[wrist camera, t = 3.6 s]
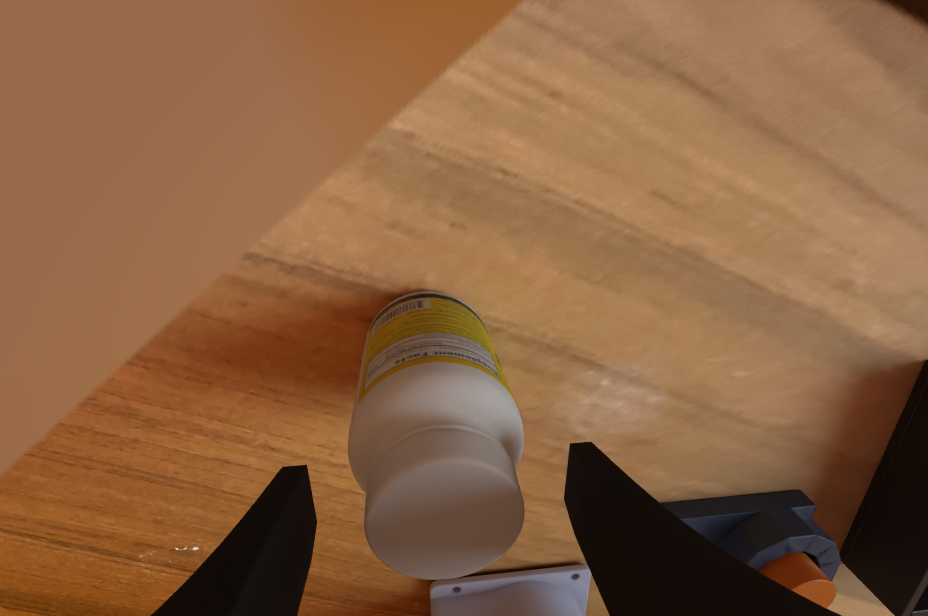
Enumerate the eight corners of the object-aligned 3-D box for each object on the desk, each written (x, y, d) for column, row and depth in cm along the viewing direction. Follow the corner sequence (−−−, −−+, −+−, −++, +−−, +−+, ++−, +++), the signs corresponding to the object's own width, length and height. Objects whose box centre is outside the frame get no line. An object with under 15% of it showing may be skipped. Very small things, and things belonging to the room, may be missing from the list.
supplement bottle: (460, 408, 21) (498, 615, 12) (350, 377, 20) (301, 583, 11) (507, 310, 20) (589, 467, 11) (389, 268, 18) (370, 409, 9)
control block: (635, 598, 28) (659, 649, 26) (655, 503, 25) (685, 549, 23) (773, 581, 29) (810, 629, 27) (808, 487, 26) (855, 530, 24)
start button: (747, 593, 25) (770, 625, 24) (762, 553, 24) (787, 583, 22) (799, 586, 26) (825, 618, 24) (816, 547, 24) (845, 576, 23)
